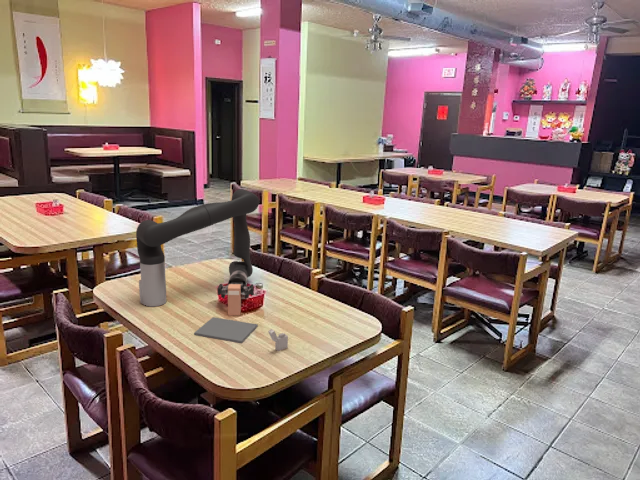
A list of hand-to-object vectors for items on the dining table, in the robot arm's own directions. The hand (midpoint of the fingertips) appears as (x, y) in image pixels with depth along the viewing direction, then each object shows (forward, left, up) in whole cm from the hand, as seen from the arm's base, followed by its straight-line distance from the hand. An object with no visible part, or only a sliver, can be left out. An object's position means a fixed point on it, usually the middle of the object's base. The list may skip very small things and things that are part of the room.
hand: (234, 296), depth 187 cm
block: (0, -1, -7) cm, 7 cm away
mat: (+4, -16, -7) cm, 17 cm away
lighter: (+26, -23, -7) cm, 35 cm away
